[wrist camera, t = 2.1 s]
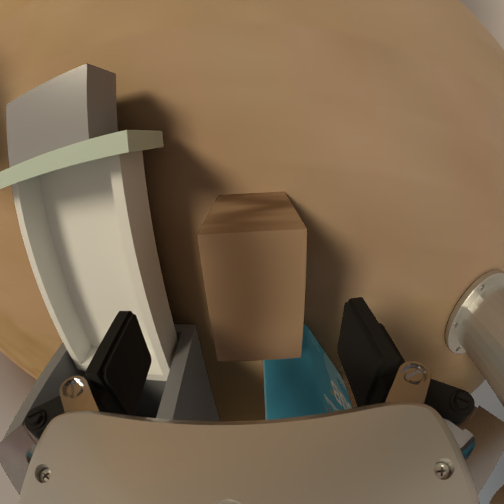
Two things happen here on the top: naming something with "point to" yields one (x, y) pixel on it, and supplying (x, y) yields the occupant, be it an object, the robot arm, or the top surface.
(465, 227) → the top surface
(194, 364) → the grey open box
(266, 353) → the walnut block
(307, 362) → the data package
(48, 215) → the white open drawer
